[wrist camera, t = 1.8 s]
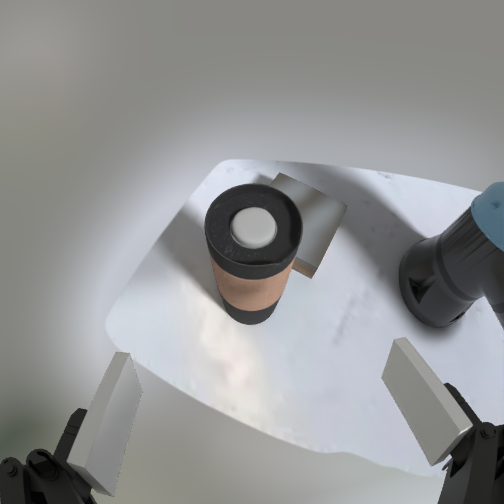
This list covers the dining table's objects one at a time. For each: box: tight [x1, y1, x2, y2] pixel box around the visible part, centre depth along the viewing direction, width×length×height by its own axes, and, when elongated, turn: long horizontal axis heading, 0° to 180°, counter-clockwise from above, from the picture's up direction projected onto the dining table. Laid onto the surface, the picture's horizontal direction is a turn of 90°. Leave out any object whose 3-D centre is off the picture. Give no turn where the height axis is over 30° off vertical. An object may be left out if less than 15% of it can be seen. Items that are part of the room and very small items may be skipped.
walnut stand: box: [270, 172, 348, 278], centre depth 42 cm, size 12×12×4 cm
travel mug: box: [204, 184, 303, 325], centre depth 30 cm, size 8×8×20 cm
